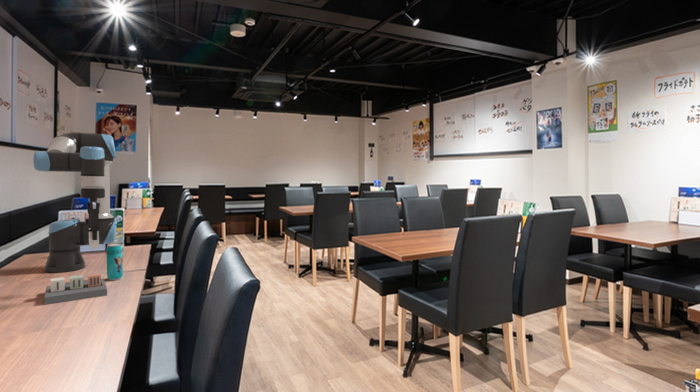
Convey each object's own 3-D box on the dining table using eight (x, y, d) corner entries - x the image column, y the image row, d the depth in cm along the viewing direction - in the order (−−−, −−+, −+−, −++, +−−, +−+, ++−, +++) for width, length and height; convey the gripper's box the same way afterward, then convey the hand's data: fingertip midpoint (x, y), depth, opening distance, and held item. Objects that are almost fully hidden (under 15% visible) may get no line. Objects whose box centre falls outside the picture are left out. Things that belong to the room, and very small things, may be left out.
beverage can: (115, 281, 155) (114, 246, 154) (103, 280, 156) (103, 245, 156) (126, 277, 161) (125, 243, 160) (114, 276, 162) (114, 243, 161)
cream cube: (51, 289, 135) (50, 278, 135) (64, 287, 137) (64, 277, 137) (50, 292, 132) (50, 281, 132) (64, 290, 134) (64, 279, 134)
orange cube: (87, 284, 142) (87, 274, 141) (100, 282, 144) (100, 272, 144) (88, 287, 138) (88, 276, 138) (101, 285, 141) (100, 275, 141)
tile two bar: (69, 287, 138) (69, 276, 138) (83, 285, 141) (82, 274, 141) (69, 289, 135) (69, 279, 135) (83, 287, 137) (83, 277, 137)
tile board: (46, 292, 139) (46, 286, 139) (103, 284, 150) (103, 278, 150) (44, 304, 126) (44, 297, 126) (107, 295, 137) (107, 288, 137)
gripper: (79, 186, 146) (80, 243, 147) (81, 188, 129) (82, 252, 130) (102, 186, 150) (103, 241, 152) (107, 188, 133) (108, 250, 134)
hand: (93, 246), depth 141 cm, fingers open, 9 cm apart
